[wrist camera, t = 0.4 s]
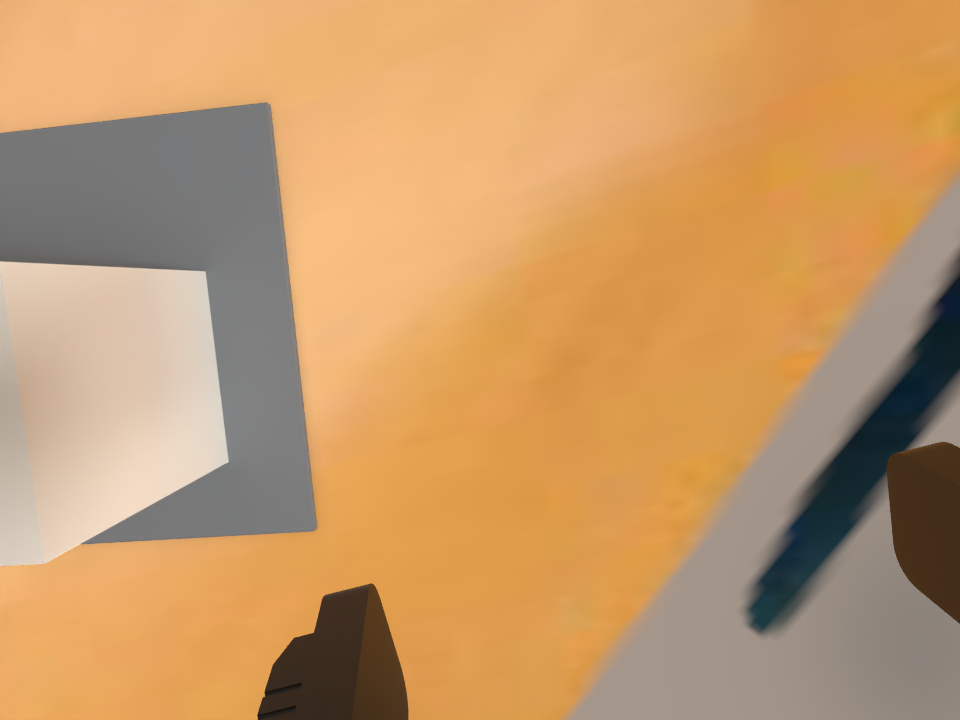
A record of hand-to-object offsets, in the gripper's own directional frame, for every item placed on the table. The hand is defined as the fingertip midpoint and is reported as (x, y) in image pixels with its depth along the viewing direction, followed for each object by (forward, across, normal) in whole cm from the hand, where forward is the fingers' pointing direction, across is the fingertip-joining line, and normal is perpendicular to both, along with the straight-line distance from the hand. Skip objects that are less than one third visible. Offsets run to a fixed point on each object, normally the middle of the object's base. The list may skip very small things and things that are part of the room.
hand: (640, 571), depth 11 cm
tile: (+28, +15, 0) cm, 31 cm away
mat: (+29, +21, -2) cm, 36 cm away
